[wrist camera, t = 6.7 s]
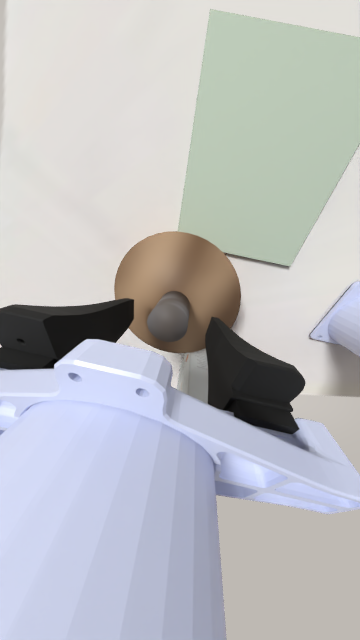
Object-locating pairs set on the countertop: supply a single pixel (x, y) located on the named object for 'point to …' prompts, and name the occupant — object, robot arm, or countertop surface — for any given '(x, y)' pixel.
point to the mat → (269, 134)
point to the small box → (194, 375)
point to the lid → (177, 290)
